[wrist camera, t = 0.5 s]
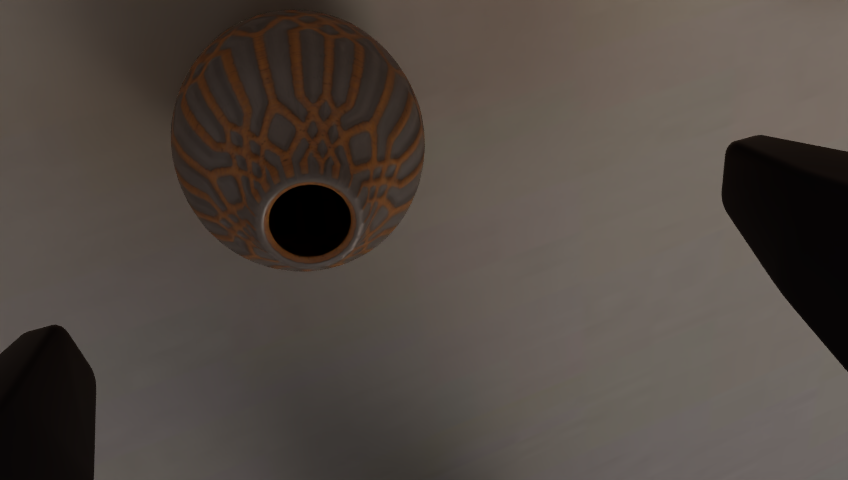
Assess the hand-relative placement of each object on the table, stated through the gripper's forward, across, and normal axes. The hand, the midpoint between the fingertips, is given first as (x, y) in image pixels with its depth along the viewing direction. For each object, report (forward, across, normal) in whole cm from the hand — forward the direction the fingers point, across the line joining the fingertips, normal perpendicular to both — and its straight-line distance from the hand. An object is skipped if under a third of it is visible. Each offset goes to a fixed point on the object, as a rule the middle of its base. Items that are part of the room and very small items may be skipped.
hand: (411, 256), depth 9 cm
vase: (+14, +2, +3) cm, 15 cm away
